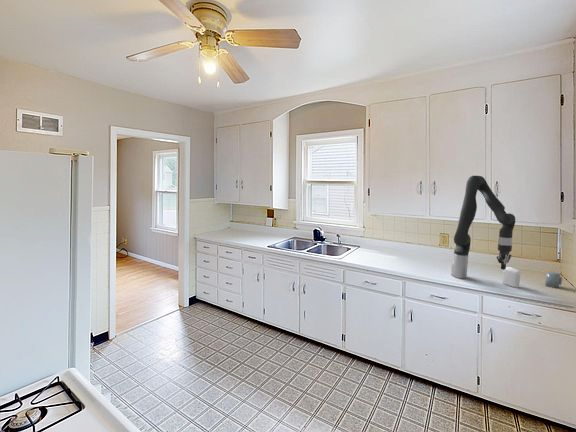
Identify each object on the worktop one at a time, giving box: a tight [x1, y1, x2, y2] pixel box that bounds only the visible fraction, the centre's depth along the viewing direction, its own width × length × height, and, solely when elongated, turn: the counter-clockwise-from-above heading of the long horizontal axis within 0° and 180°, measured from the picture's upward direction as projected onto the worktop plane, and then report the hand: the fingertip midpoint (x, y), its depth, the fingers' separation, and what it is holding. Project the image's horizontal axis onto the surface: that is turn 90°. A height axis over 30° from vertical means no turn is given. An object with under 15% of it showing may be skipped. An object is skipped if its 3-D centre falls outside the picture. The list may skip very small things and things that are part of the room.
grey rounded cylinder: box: [544, 271, 563, 289], centre depth 203 cm, size 8×7×9 cm
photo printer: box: [502, 266, 521, 289], centre depth 205 cm, size 10×4×12 cm, turn 14°
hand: (503, 269), depth 200 cm, fingers closed
